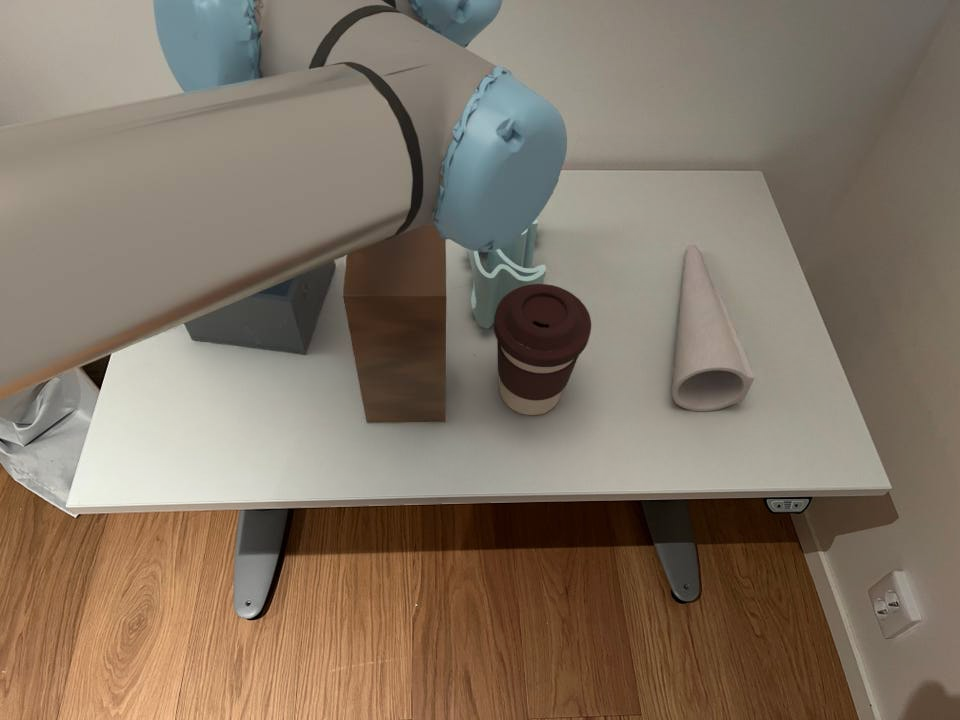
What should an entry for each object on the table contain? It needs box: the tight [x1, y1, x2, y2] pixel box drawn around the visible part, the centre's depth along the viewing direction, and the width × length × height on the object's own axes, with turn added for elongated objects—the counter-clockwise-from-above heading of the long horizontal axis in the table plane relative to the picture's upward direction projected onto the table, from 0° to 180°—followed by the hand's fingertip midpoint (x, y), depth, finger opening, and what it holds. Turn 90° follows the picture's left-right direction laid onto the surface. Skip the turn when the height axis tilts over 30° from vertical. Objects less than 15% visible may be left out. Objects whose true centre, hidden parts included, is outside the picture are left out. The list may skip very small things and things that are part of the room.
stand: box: [342, 225, 447, 424], centre depth 71 cm, size 9×9×22 cm
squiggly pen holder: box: [468, 217, 547, 329], centre depth 87 cm, size 18×10×9 cm, turn 6°
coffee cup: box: [493, 283, 592, 416], centre depth 74 cm, size 10×10×15 cm
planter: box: [671, 244, 755, 412], centre depth 86 cm, size 8×9×26 cm
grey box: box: [183, 260, 337, 356], centre depth 83 cm, size 14×15×10 cm
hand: (229, 168), depth 68 cm, fingers closed on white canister, 7 cm apart
